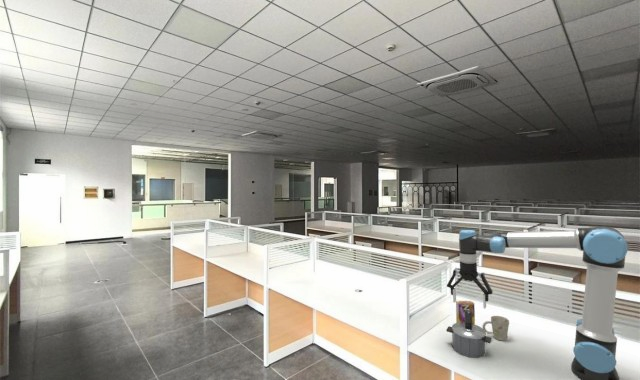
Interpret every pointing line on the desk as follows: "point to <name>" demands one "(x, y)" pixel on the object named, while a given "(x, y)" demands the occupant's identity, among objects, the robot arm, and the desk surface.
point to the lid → (468, 328)
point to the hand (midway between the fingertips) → (469, 304)
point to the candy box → (461, 308)
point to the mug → (498, 327)
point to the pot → (468, 345)
